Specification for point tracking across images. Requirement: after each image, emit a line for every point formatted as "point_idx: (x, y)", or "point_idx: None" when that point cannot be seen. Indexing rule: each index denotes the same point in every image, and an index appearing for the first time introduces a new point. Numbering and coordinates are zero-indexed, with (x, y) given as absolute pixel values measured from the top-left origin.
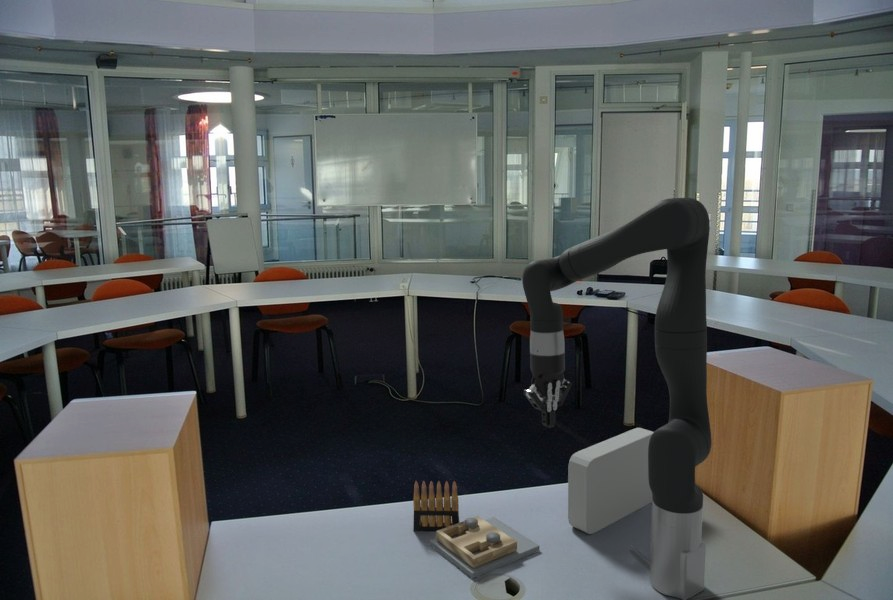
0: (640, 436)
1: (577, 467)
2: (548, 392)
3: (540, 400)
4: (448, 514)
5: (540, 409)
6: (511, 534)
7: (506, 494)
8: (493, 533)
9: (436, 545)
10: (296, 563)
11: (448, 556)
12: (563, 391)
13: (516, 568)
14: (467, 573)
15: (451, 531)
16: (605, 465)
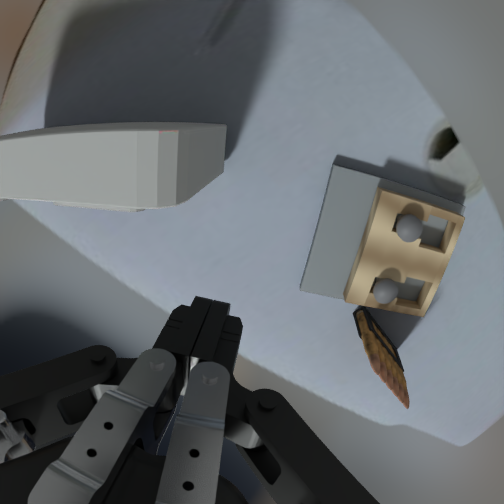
0: None
1: (184, 166)
2: (202, 496)
3: (292, 464)
4: (378, 335)
5: (284, 407)
6: (334, 229)
7: None
8: (403, 234)
9: None
10: (499, 373)
11: None
12: (32, 405)
13: (403, 164)
14: None
15: (403, 303)
16: (107, 127)
